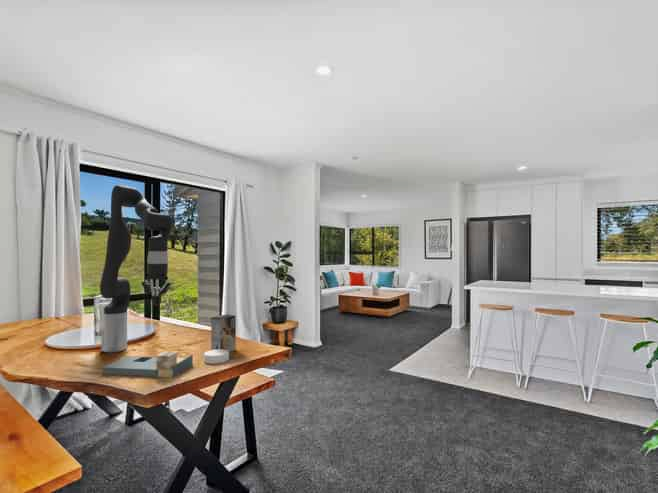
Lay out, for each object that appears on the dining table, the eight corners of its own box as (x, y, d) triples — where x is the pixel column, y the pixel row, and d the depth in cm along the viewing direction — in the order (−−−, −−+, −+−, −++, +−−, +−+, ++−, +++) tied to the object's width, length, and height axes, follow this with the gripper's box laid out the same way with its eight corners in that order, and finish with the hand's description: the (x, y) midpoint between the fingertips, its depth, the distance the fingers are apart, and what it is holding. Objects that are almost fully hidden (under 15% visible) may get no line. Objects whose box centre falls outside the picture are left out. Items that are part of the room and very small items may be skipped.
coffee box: (226, 347, 164) (226, 313, 164) (236, 350, 161) (236, 315, 161) (210, 352, 157) (210, 317, 157) (220, 355, 153) (220, 318, 153)
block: (156, 369, 128) (156, 355, 128) (164, 364, 133) (164, 351, 133) (169, 369, 127) (169, 356, 127) (176, 365, 132) (176, 352, 132)
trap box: (102, 374, 129) (102, 363, 129) (127, 361, 143) (127, 352, 143) (173, 377, 126) (173, 366, 126) (192, 364, 140) (192, 354, 140)
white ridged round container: (219, 355, 154) (219, 347, 154) (233, 359, 148) (233, 351, 148) (199, 361, 145) (199, 352, 145) (213, 366, 140) (213, 357, 140)
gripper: (178, 262, 144) (177, 304, 144) (148, 261, 146) (147, 302, 146) (167, 263, 137) (166, 307, 137) (136, 262, 139) (135, 305, 138)
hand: (156, 304), depth 141 cm, fingers closed
